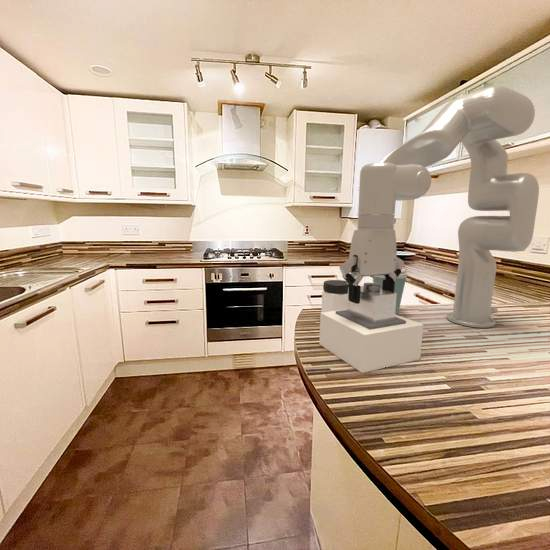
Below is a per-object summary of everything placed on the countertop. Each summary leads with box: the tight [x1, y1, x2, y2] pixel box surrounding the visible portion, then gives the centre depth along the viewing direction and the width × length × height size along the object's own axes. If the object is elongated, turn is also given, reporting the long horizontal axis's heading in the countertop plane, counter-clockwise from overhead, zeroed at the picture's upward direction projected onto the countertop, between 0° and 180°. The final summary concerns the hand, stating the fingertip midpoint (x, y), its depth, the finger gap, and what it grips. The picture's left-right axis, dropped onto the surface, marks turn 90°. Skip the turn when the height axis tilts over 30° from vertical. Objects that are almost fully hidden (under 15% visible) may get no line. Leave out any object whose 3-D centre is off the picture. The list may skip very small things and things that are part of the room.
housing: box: [347, 282, 397, 323], centre depth 71 cm, size 6×9×7 cm, turn 25°
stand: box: [318, 309, 424, 374], centre depth 72 cm, size 16×16×9 cm
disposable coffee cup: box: [372, 267, 408, 315], centre depth 101 cm, size 11×11×15 cm
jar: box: [321, 279, 349, 313], centre depth 93 cm, size 9×8×12 cm
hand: (371, 299), depth 71 cm, fingers open, 9 cm apart
